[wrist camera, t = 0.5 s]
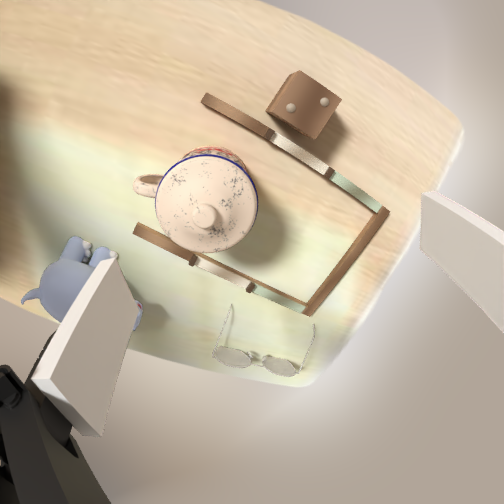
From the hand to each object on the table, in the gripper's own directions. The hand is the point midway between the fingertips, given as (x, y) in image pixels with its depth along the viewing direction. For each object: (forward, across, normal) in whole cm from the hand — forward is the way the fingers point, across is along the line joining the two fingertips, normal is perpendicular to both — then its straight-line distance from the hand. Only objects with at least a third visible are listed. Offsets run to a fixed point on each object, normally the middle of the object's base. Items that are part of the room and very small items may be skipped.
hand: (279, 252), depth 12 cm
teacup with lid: (+24, -6, -2) cm, 25 cm away
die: (+24, +7, +5) cm, 25 cm away
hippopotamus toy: (+24, -23, -11) cm, 35 cm away
